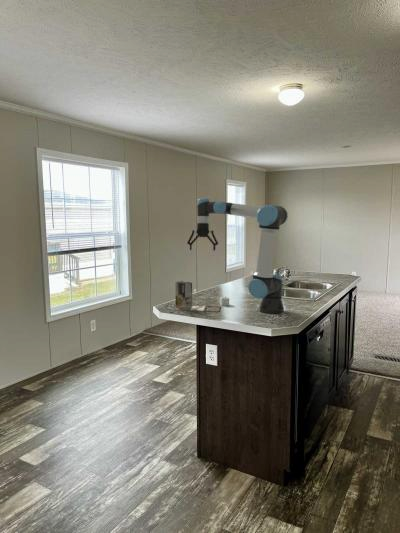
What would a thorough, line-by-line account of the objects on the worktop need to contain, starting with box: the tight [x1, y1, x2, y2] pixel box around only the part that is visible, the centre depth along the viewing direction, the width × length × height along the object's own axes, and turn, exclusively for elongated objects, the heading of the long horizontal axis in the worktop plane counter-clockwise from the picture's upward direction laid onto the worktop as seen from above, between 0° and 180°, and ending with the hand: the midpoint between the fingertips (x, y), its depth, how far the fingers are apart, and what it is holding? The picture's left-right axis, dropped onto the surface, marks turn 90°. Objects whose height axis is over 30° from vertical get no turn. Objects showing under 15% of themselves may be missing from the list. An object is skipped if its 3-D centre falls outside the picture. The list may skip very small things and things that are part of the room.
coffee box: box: [174, 281, 193, 309], centre depth 244 cm, size 9×6×16 cm
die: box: [219, 296, 230, 307], centre depth 256 cm, size 5×5×5 cm
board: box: [173, 304, 222, 313], centre depth 244 cm, size 28×14×1 cm, turn 83°
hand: (202, 255), depth 254 cm, fingers open, 13 cm apart
